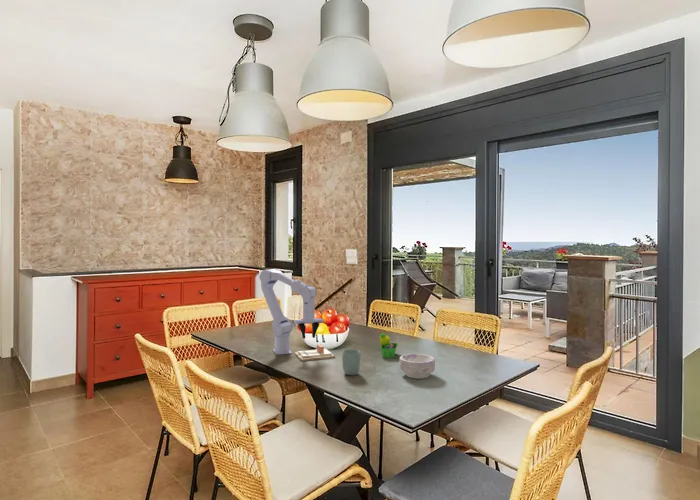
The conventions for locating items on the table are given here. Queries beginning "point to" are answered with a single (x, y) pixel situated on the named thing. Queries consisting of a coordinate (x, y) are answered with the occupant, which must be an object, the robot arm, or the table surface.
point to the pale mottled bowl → (417, 365)
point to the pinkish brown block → (322, 350)
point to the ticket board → (311, 355)
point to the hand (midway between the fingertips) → (308, 337)
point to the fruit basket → (387, 346)
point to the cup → (351, 361)
